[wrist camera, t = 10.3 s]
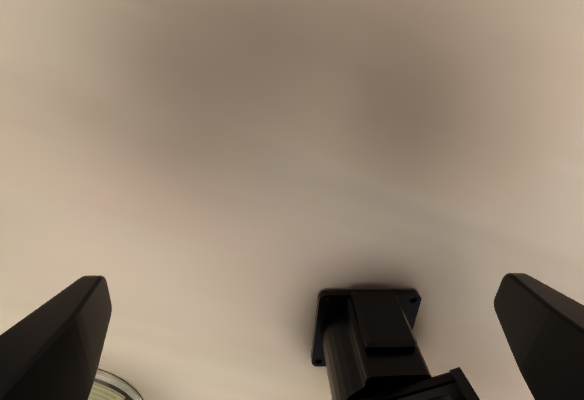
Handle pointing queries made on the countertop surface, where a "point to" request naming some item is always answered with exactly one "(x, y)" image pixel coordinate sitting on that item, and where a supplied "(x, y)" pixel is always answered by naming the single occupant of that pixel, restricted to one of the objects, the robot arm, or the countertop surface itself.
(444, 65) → the countertop surface
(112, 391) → the coffee can
